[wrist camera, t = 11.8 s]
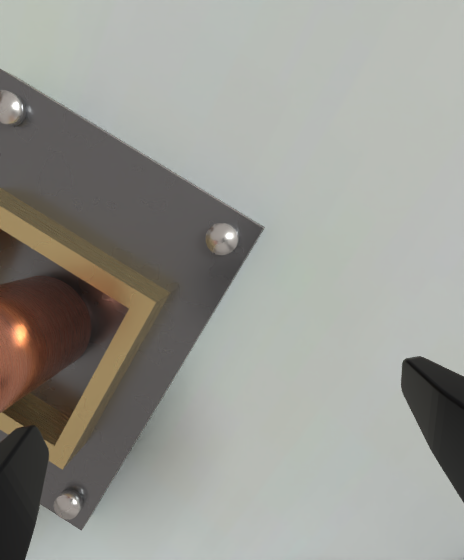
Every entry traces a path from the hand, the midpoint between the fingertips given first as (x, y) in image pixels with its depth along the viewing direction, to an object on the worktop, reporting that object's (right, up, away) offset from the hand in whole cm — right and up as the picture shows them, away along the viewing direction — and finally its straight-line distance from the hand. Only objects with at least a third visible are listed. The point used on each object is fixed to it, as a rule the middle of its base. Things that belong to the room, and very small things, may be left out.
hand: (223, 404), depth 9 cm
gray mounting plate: (-10, +1, +14) cm, 17 cm away
